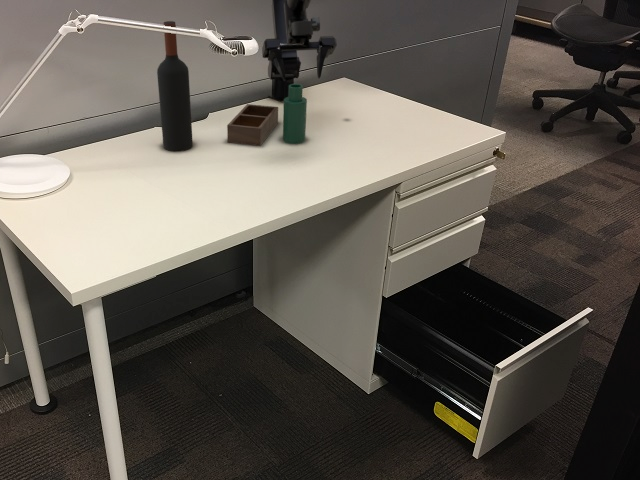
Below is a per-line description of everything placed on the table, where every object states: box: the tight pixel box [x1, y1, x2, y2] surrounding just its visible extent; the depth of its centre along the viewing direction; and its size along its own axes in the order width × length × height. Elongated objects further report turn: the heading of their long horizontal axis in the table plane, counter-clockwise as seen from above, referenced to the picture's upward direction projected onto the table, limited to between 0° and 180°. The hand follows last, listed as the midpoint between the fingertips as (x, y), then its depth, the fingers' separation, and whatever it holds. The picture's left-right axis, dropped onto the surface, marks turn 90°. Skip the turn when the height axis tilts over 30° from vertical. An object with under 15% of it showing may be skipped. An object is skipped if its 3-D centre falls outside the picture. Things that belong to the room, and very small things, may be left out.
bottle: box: [282, 83, 308, 145], centre depth 170 cm, size 6×6×14 cm
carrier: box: [226, 103, 279, 147], centre depth 178 cm, size 17×9×5 cm, turn 162°
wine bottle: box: [156, 20, 194, 153], centre depth 163 cm, size 8×8×30 cm
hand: (302, 78), depth 173 cm, fingers open, 9 cm apart
